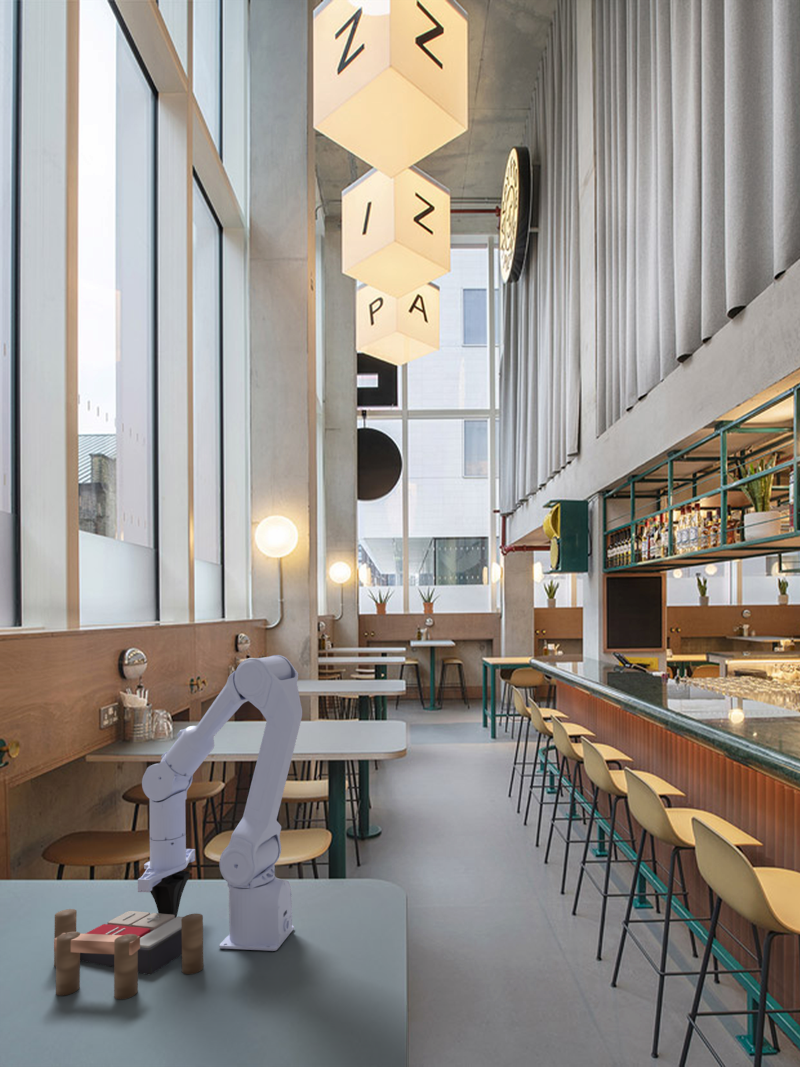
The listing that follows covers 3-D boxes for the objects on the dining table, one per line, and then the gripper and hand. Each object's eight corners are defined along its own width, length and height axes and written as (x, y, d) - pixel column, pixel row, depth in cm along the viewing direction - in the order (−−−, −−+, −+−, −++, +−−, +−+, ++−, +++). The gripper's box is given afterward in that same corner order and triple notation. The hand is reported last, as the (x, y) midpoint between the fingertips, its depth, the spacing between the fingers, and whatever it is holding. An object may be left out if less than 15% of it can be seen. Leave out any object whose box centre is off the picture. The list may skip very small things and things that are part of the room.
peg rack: (207, 964, 101) (206, 913, 102) (170, 1002, 91) (169, 946, 92) (63, 956, 106) (63, 908, 107) (13, 992, 96) (14, 939, 97)
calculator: (129, 907, 116) (200, 913, 110) (130, 935, 115) (201, 942, 109) (74, 936, 106) (149, 944, 100) (74, 966, 105) (150, 976, 99)
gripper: (169, 822, 123) (169, 903, 121) (120, 849, 109) (120, 941, 107) (205, 823, 122) (206, 904, 120) (160, 850, 108) (161, 943, 106)
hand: (168, 922), depth 114 cm, fingers closed
